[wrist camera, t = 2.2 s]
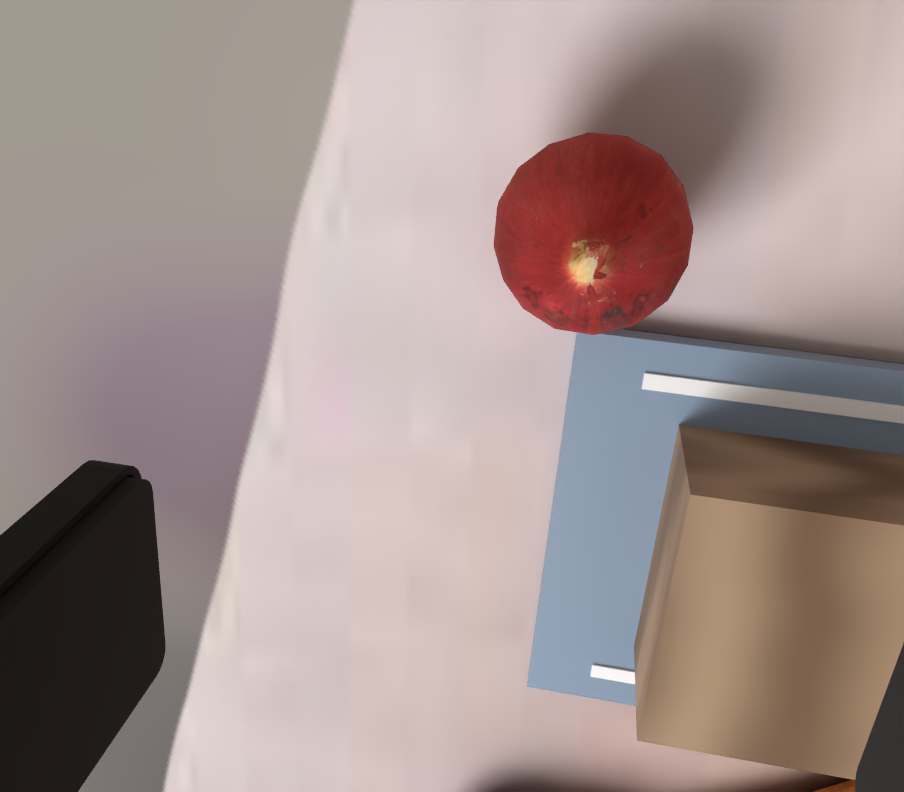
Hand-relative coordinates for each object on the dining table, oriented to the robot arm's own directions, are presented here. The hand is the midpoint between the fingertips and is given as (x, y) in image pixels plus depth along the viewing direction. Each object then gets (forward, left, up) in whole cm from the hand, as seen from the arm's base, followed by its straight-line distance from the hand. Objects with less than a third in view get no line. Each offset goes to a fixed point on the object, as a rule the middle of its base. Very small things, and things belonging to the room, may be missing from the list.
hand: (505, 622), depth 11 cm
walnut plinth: (-10, +11, -20) cm, 25 cm away
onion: (-1, -1, -21) cm, 21 cm away
